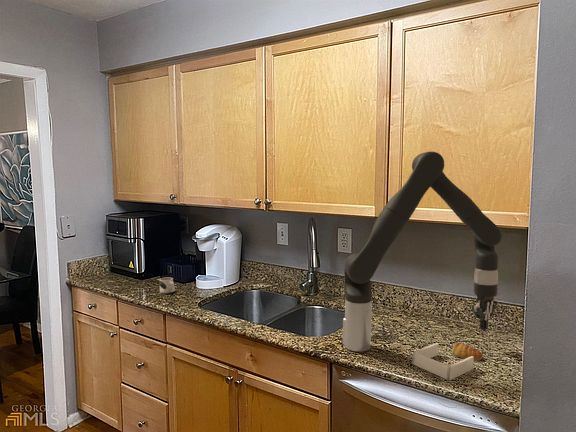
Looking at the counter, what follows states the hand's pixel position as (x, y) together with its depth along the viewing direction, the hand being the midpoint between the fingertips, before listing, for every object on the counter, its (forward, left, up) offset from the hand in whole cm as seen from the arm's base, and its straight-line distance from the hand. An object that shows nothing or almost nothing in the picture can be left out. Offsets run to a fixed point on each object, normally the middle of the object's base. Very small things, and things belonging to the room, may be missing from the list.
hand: (483, 329), depth 152 cm
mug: (-132, -65, -7) cm, 147 cm away
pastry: (-1, -10, -8) cm, 13 cm away
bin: (0, -23, -7) cm, 24 cm away
